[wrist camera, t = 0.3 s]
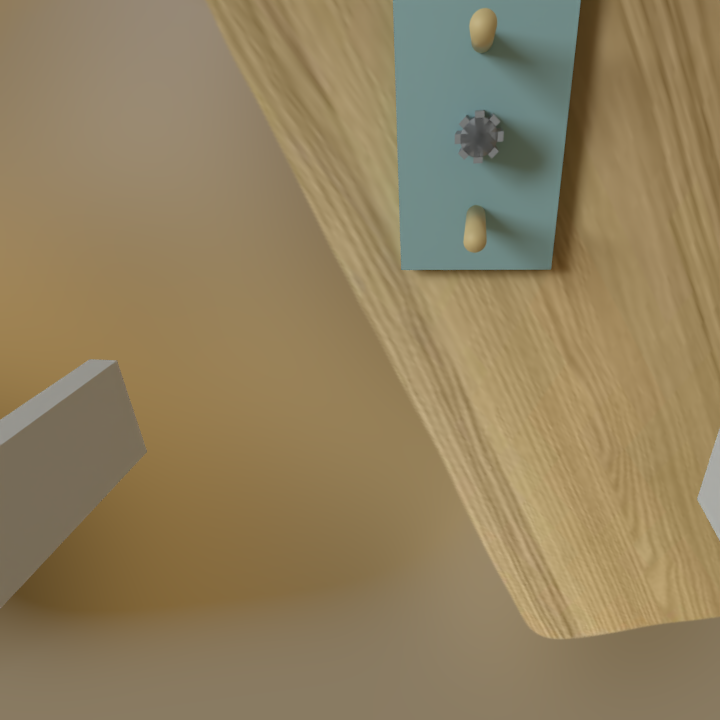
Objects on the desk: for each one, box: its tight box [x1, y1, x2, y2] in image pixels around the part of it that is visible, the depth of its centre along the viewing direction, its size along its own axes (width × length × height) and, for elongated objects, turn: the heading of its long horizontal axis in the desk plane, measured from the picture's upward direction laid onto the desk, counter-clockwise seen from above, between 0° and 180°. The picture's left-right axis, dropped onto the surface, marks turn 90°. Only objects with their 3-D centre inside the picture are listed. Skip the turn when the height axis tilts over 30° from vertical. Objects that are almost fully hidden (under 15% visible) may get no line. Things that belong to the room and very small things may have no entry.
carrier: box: [393, 0, 581, 270], centre depth 28 cm, size 17×10×8 cm, turn 4°
